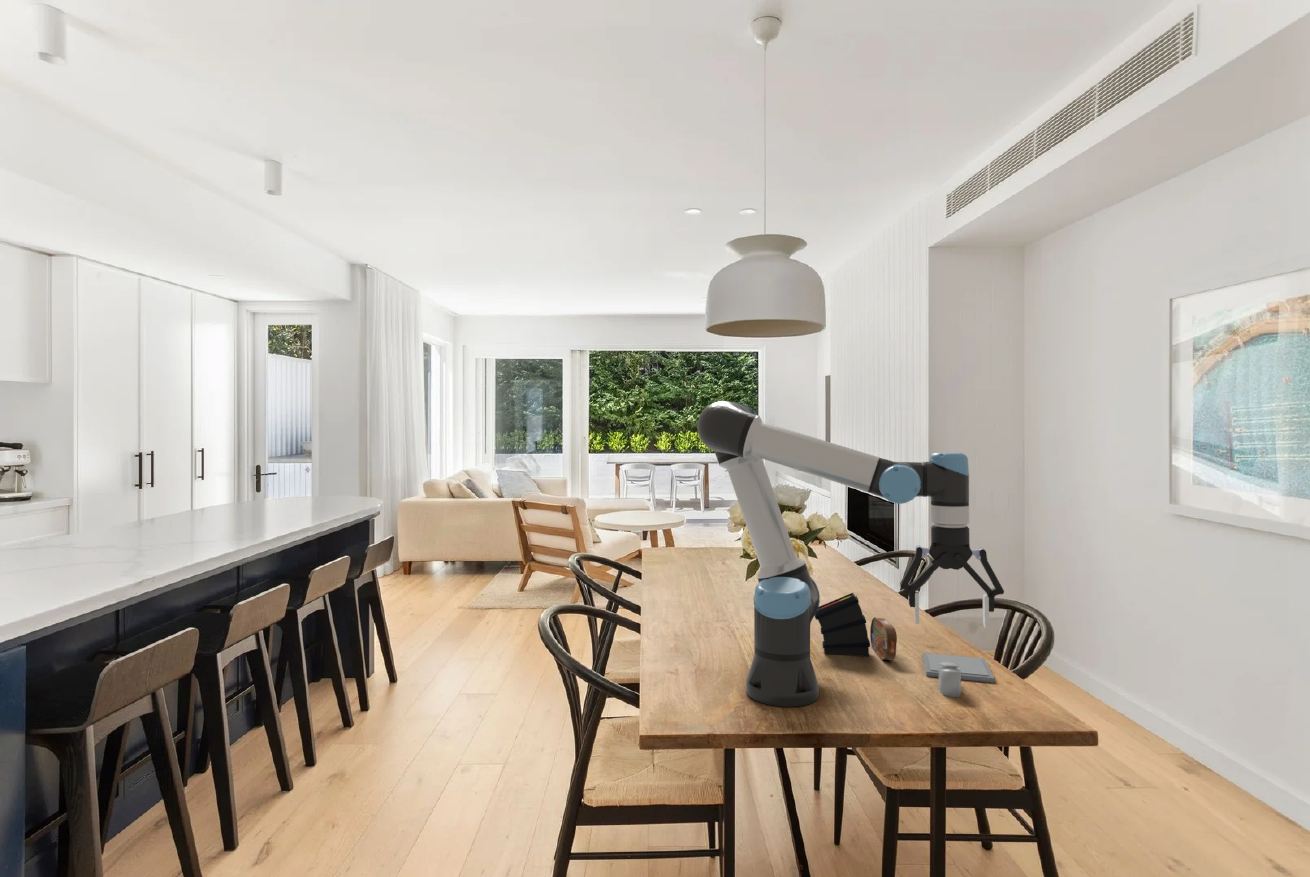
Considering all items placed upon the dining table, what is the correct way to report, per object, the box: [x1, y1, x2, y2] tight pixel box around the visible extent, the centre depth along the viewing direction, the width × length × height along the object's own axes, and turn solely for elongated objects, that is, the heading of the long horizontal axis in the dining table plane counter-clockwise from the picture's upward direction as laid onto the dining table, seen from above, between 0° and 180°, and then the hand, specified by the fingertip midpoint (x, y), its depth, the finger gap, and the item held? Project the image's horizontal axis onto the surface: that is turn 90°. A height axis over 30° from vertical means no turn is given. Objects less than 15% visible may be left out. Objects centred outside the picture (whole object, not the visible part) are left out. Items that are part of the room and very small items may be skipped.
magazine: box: [814, 592, 871, 657], centre depth 171 cm, size 4×13×15 cm, turn 78°
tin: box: [869, 617, 898, 661], centre depth 170 cm, size 15×3×8 cm, turn 177°
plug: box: [938, 662, 962, 698], centre depth 147 cm, size 4×9×5 cm, turn 163°
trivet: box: [921, 652, 996, 684], centre depth 159 cm, size 14×14×1 cm
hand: (950, 624), depth 146 cm, fingers open, 13 cm apart
